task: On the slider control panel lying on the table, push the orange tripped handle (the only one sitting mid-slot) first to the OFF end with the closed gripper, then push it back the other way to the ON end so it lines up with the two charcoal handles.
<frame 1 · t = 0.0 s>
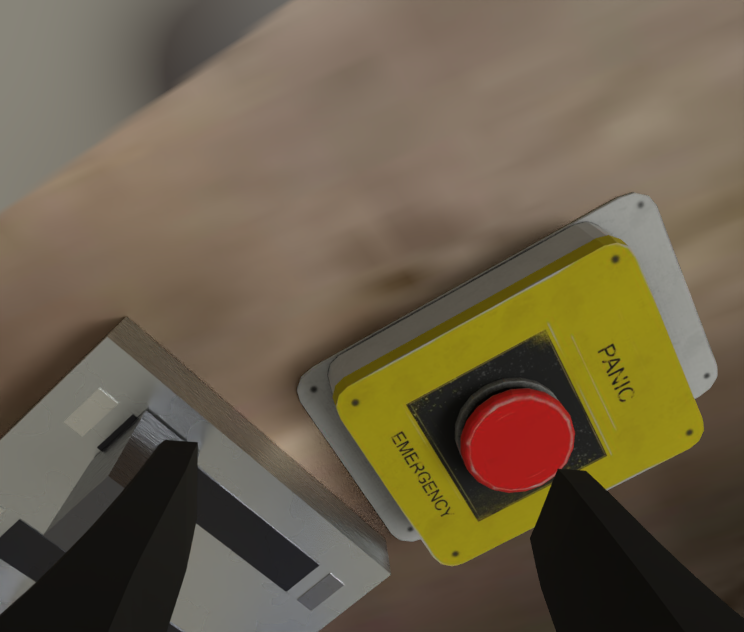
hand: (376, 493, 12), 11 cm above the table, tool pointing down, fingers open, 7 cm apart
emergency button: (506, 373, 24), on the table
slider control panel: (122, 564, 24), on the table
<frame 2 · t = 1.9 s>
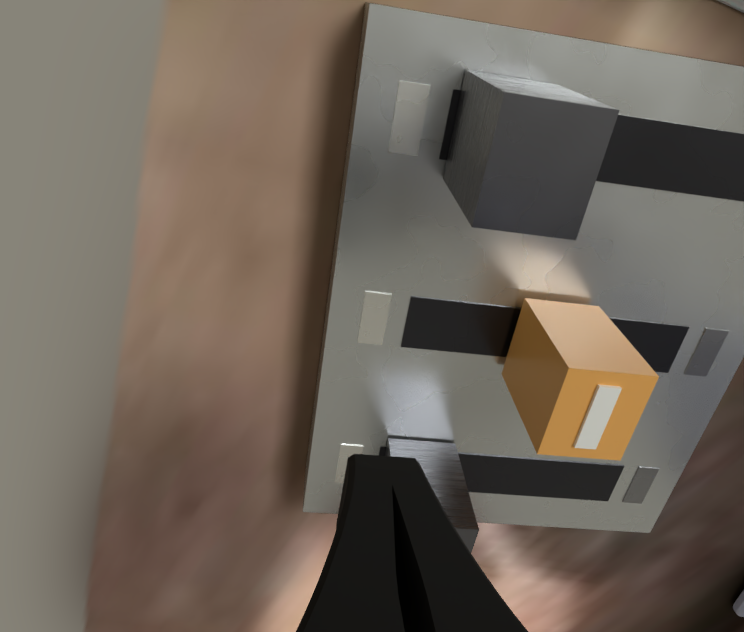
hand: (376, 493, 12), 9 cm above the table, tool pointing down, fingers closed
slider control panel: (527, 307, 21), on the table
tripped breaker: (570, 376, 17), point 4 cm above the table, slide at 0.0 cm
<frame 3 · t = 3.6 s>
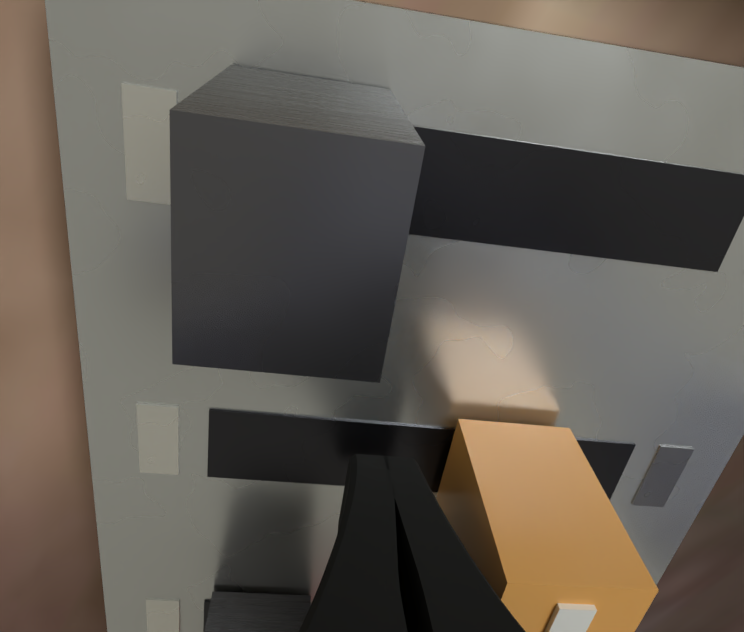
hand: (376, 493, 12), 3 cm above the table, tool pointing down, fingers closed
slider control panel: (412, 402, 15), on the table
tripped breaker: (523, 548, 11), point 4 cm above the table, slide at -1.6 cm, touching gripper
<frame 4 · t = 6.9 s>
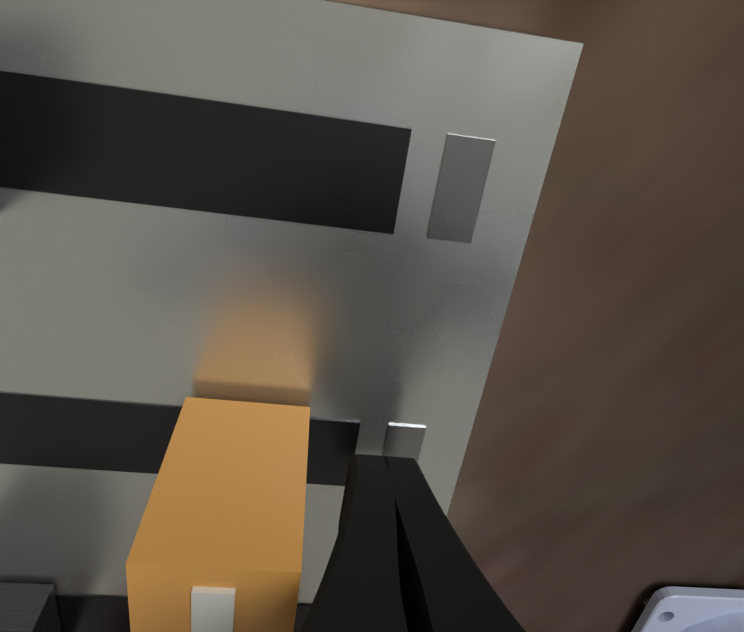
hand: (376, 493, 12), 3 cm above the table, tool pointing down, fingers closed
slider control panel: (158, 382, 14), on the table
tripped breaker: (231, 531, 10), point 4 cm above the table, slide at -2.3 cm, touching gripper
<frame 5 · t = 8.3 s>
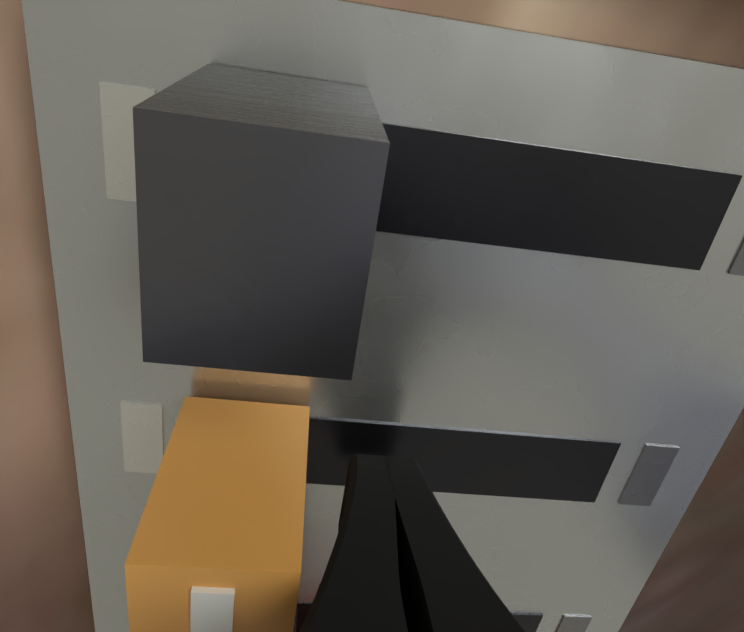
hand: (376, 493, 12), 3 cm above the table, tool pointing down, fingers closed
slider control panel: (399, 402, 15), on the table
tripped breaker: (230, 531, 10), point 4 cm above the table, slide at 3.5 cm, touching gripper
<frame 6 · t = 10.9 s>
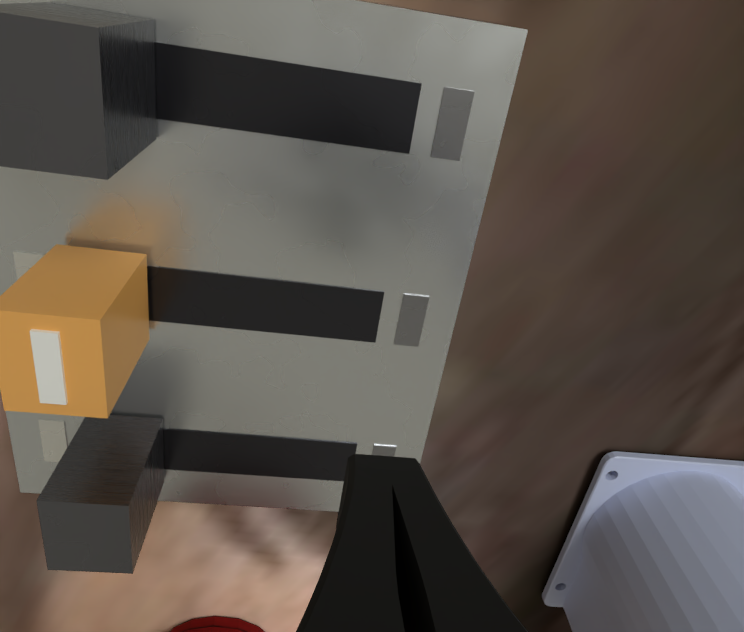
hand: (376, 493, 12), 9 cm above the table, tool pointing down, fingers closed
slider control panel: (238, 273, 19), on the table
tripped breaker: (80, 327, 15), point 4 cm above the table, slide at 3.5 cm
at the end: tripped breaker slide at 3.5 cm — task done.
